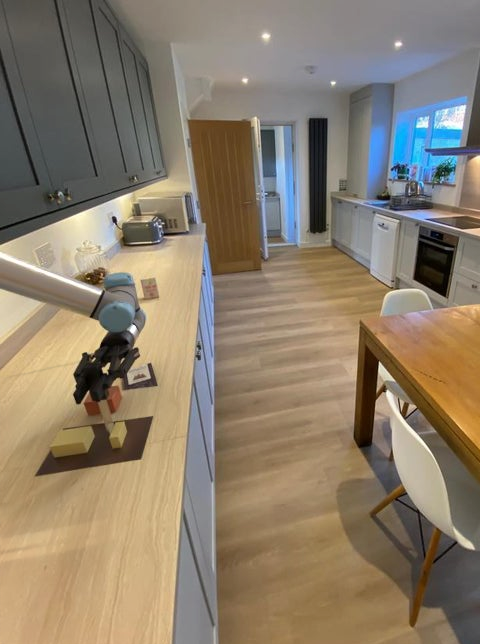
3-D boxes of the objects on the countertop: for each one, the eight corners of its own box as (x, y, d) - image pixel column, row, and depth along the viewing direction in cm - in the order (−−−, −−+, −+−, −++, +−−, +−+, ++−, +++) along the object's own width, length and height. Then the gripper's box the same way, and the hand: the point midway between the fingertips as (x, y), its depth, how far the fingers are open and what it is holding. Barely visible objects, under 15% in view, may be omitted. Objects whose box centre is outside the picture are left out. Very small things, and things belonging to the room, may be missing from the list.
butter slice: (112, 448, 77) (109, 437, 76) (118, 432, 82) (115, 422, 80) (121, 447, 78) (118, 436, 76) (127, 431, 82) (124, 421, 81)
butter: (54, 457, 75) (49, 446, 74) (63, 440, 79) (59, 430, 78) (87, 452, 76) (83, 441, 75) (94, 436, 81) (91, 425, 79)
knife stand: (89, 420, 88) (83, 402, 85) (97, 405, 93) (91, 388, 91) (117, 416, 89) (111, 399, 87) (123, 401, 94) (118, 385, 92)
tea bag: (144, 297, 165) (140, 278, 161) (158, 294, 167) (155, 276, 163) (144, 299, 162) (140, 281, 158) (159, 297, 164) (155, 278, 160)
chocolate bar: (126, 403, 92) (121, 370, 106) (127, 406, 92) (122, 373, 106) (160, 392, 96) (151, 362, 110) (160, 395, 97) (151, 365, 111)
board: (36, 481, 71) (34, 476, 71) (64, 432, 84) (63, 428, 83) (142, 463, 75) (141, 459, 75) (154, 419, 88) (153, 415, 87)
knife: (102, 435, 76) (80, 369, 69) (106, 426, 79) (85, 361, 71) (116, 433, 77) (96, 368, 69) (119, 424, 80) (100, 360, 72)
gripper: (153, 349, 91) (131, 406, 70) (91, 355, 88) (48, 417, 67) (148, 325, 88) (124, 378, 67) (83, 331, 85) (36, 388, 64)
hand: (86, 397), depth 67 cm, fingers closed on knife, 3 cm apart
